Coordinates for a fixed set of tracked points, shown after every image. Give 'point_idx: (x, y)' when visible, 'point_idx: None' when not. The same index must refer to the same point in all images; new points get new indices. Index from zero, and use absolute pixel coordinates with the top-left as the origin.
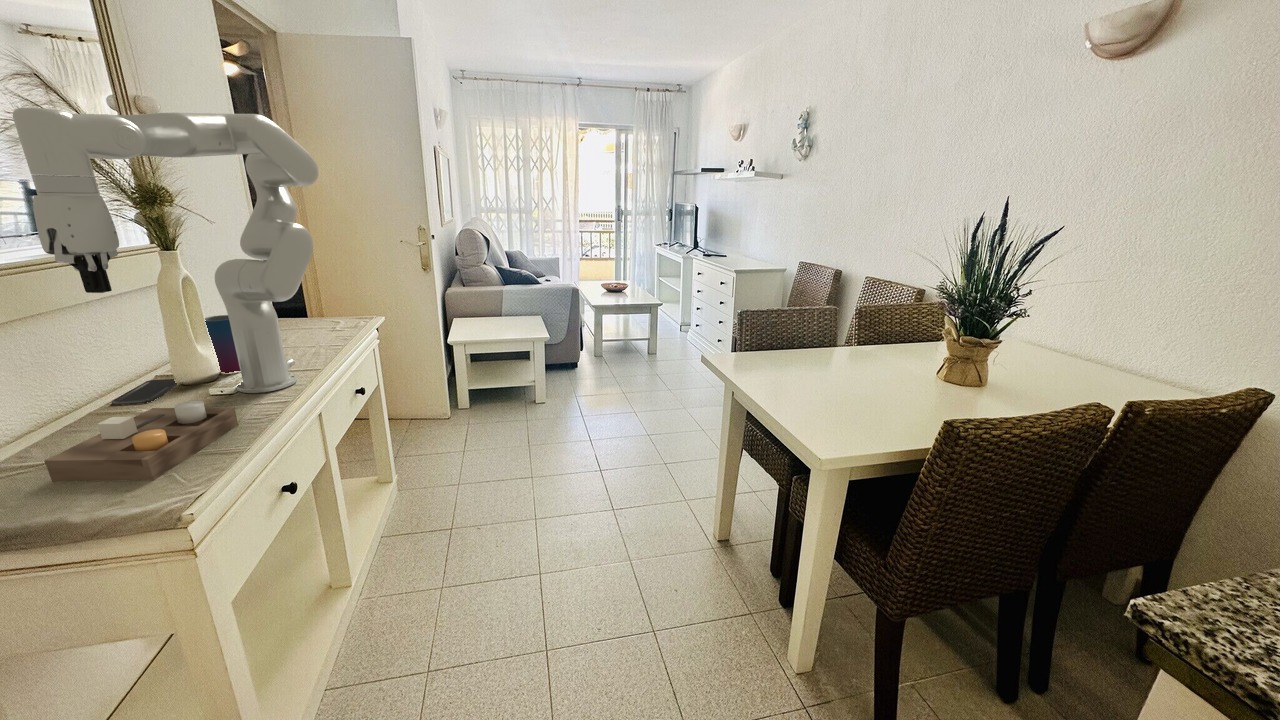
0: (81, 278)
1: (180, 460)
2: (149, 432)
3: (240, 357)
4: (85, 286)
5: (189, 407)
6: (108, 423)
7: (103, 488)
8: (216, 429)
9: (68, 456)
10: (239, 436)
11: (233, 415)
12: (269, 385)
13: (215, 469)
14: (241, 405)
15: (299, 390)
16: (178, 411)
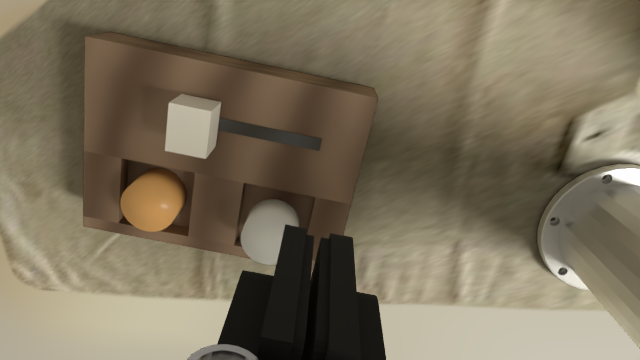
0: (273, 284)
1: None
2: (159, 203)
3: (629, 245)
4: (240, 277)
5: (250, 248)
6: (168, 127)
7: (80, 141)
8: None
9: (103, 73)
10: (272, 270)
11: None
12: (560, 252)
13: (136, 280)
14: (460, 217)
15: (526, 303)
16: (243, 227)
